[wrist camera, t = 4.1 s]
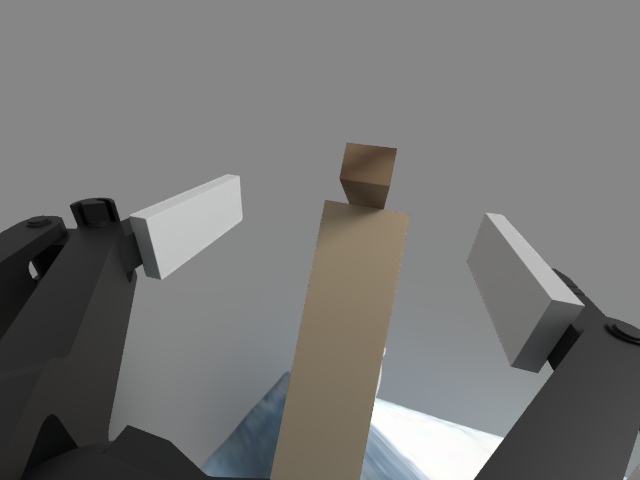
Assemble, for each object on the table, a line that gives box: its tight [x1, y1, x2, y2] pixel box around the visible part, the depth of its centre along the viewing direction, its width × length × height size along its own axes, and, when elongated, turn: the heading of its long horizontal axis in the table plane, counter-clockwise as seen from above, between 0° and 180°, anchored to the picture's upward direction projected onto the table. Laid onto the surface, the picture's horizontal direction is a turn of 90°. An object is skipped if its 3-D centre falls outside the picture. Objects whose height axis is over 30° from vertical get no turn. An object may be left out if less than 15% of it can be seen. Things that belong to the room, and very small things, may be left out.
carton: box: [270, 200, 410, 480], centre depth 37 cm, size 10×11×36 cm
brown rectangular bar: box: [340, 143, 397, 209], centre depth 35 cm, size 4×27×3 cm, turn 169°
